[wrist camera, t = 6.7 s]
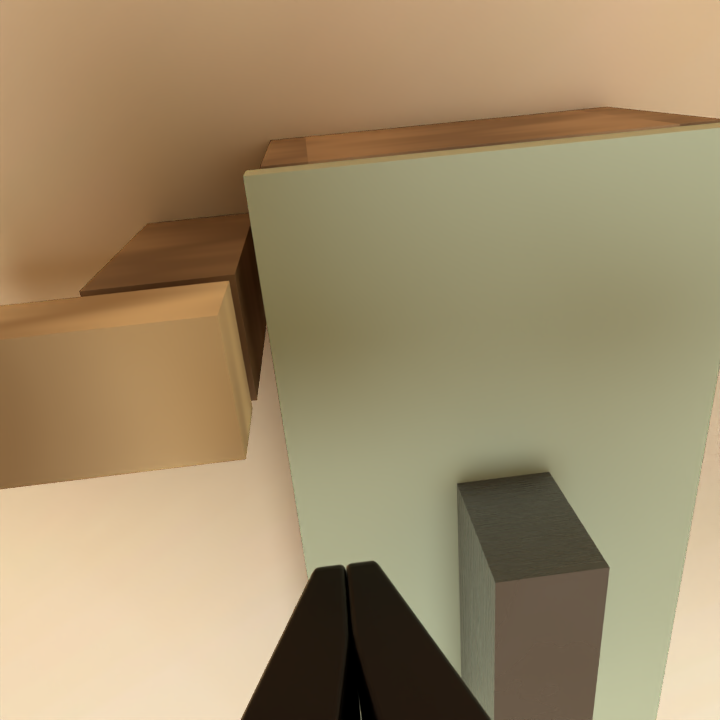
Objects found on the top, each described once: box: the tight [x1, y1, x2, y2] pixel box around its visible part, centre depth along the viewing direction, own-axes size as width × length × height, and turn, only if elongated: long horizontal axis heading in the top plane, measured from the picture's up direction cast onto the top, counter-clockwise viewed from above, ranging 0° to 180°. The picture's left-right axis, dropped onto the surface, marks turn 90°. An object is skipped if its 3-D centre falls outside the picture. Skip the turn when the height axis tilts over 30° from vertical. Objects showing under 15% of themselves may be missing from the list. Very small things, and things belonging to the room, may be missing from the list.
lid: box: [243, 122, 720, 720], centre depth 16 cm, size 11×24×4 cm, turn 5°
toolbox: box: [79, 107, 720, 401], centre depth 20 cm, size 14×24×6 cm, turn 5°
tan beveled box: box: [0, 281, 252, 489], centre depth 12 cm, size 8×3×2 cm, turn 95°
